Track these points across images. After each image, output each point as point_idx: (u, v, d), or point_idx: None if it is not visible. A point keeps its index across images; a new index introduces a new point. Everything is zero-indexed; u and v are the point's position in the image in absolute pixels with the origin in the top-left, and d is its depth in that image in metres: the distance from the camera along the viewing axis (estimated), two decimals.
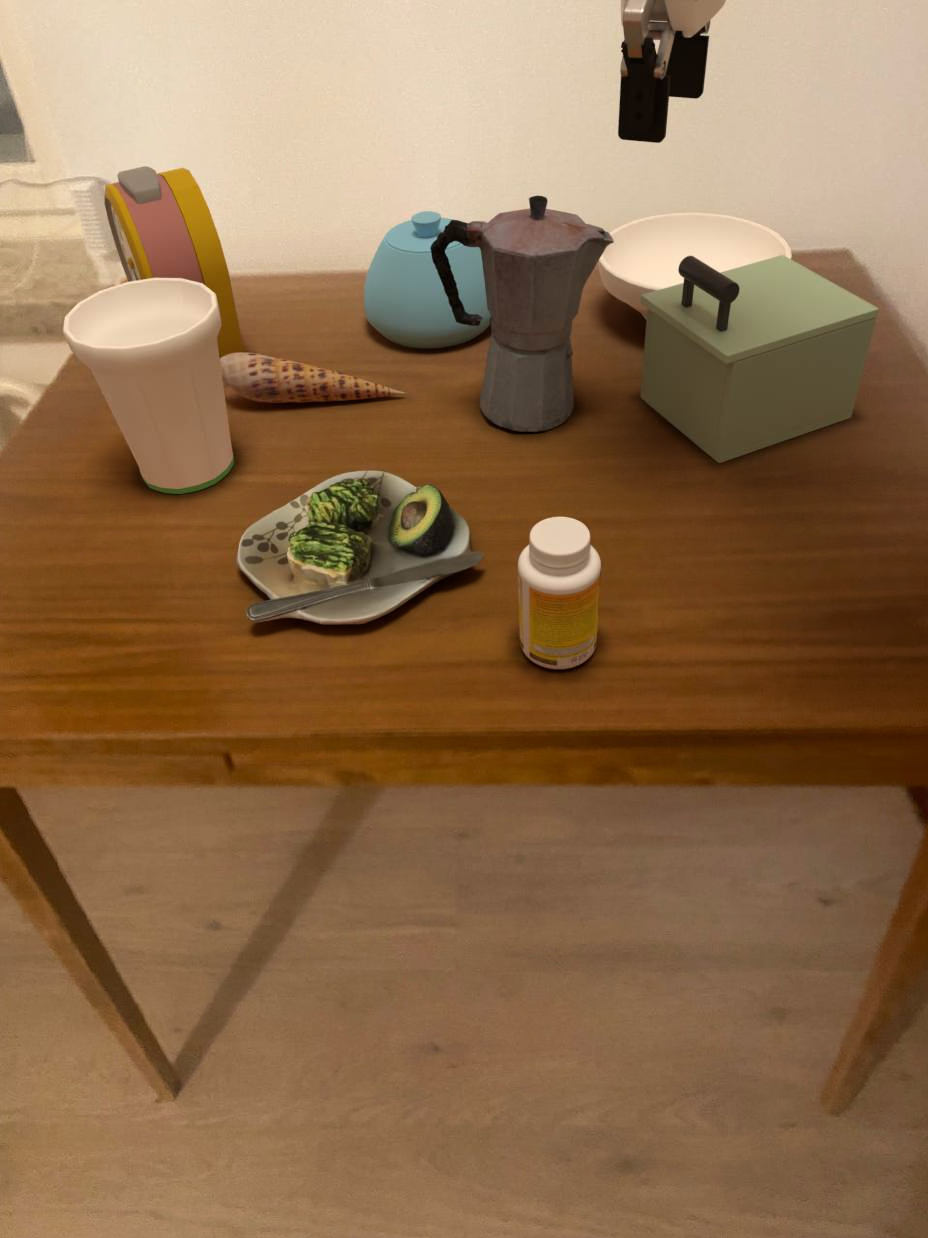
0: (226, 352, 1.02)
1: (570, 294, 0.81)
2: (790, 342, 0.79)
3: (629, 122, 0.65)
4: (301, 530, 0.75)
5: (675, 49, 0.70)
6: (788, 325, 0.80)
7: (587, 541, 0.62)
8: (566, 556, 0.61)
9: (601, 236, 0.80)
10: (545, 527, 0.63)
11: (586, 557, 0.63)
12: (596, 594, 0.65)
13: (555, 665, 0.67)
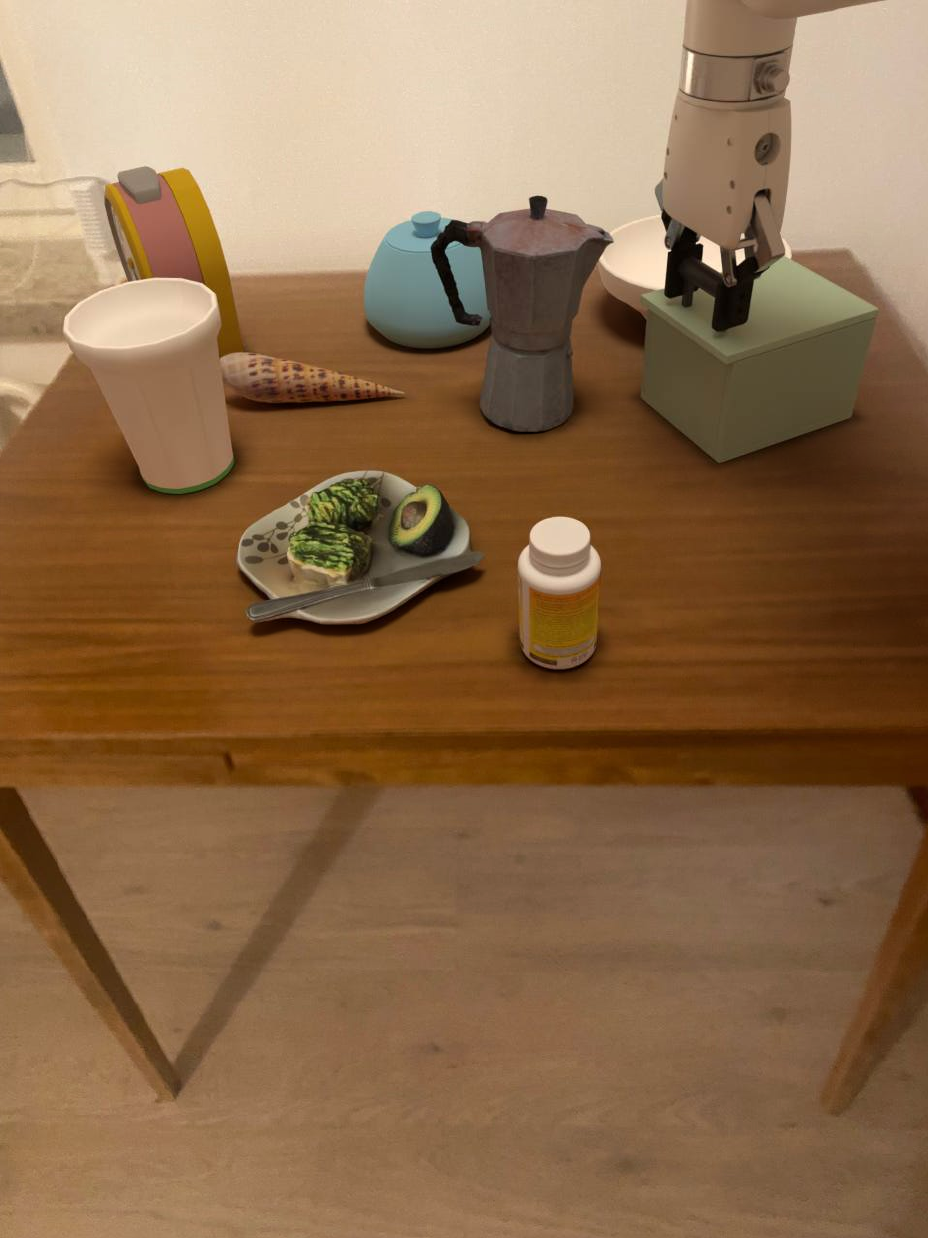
0: (226, 352, 1.02)
1: (570, 294, 0.81)
2: (790, 342, 0.79)
3: (732, 317, 0.77)
4: (301, 530, 0.75)
5: None
6: (788, 325, 0.80)
7: (587, 541, 0.62)
8: (566, 556, 0.61)
9: (601, 236, 0.80)
10: (545, 527, 0.63)
11: (586, 557, 0.63)
12: (596, 594, 0.65)
13: (555, 665, 0.67)
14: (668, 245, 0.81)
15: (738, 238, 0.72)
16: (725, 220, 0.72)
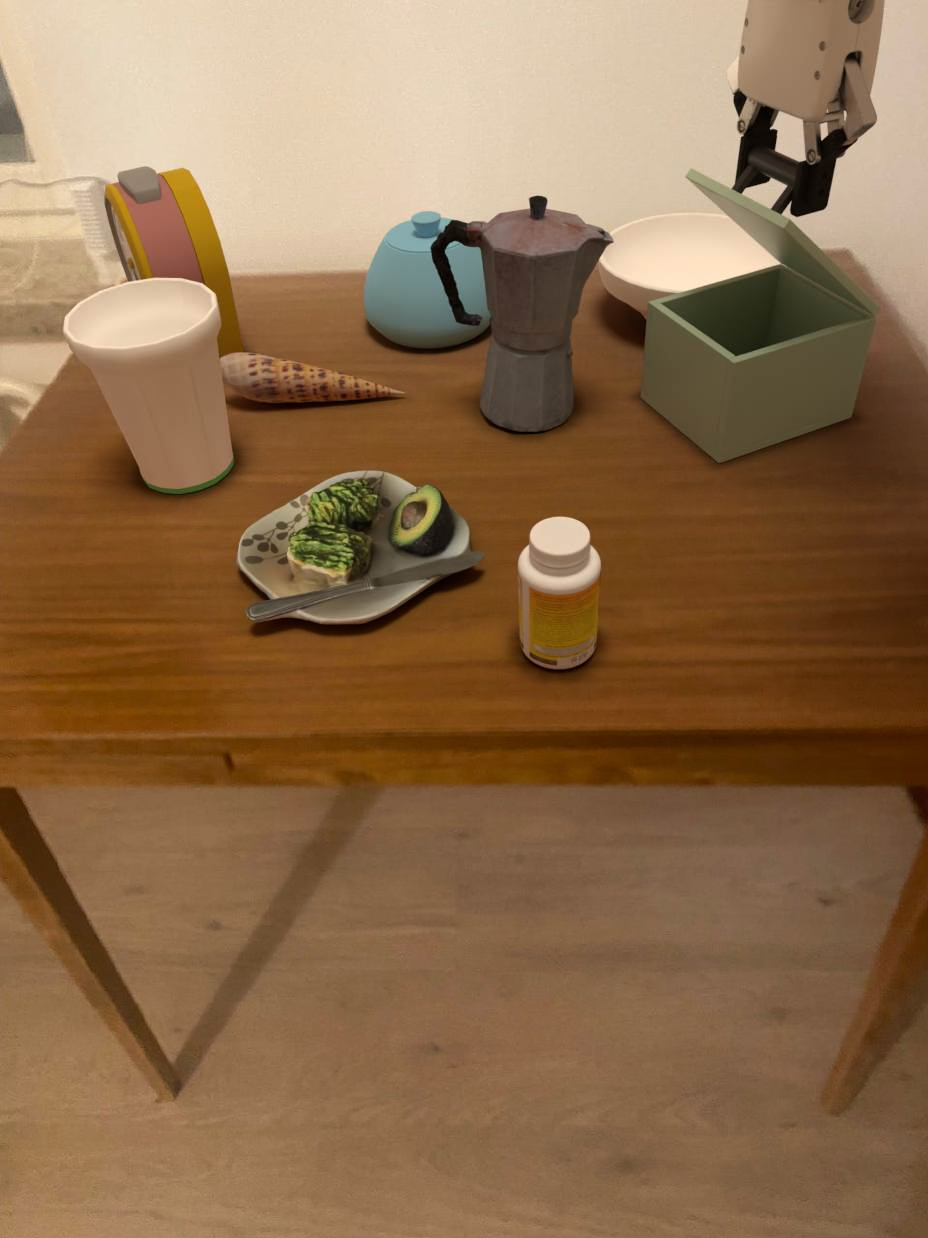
0: (226, 352, 1.02)
1: (570, 294, 0.81)
2: (825, 265, 0.75)
3: (813, 200, 0.73)
4: (301, 530, 0.75)
5: None
6: None
7: (587, 541, 0.62)
8: (566, 556, 0.61)
9: (601, 236, 0.80)
10: (545, 527, 0.63)
11: (586, 557, 0.63)
12: (596, 594, 0.65)
13: (555, 665, 0.67)
14: (741, 130, 0.77)
15: (825, 106, 0.68)
16: (812, 88, 0.68)
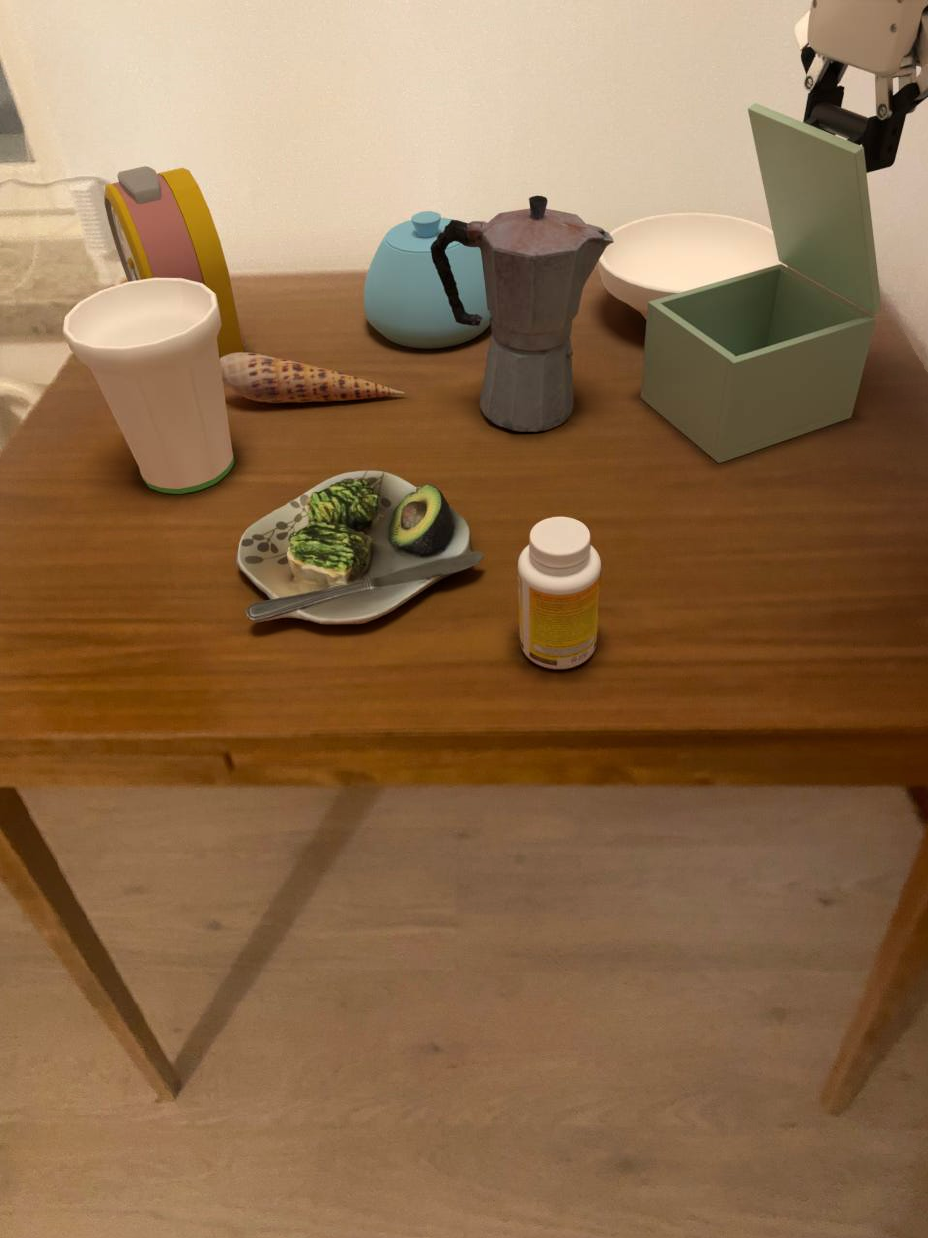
0: (226, 352, 1.02)
1: (570, 294, 0.81)
2: (865, 224, 0.75)
3: (881, 156, 0.74)
4: (301, 530, 0.75)
5: None
6: None
7: (587, 541, 0.62)
8: (566, 556, 0.61)
9: (601, 236, 0.80)
10: (545, 527, 0.63)
11: (586, 557, 0.63)
12: (596, 594, 0.65)
13: (555, 665, 0.67)
14: (808, 86, 0.77)
15: (900, 60, 0.68)
16: (887, 41, 0.68)
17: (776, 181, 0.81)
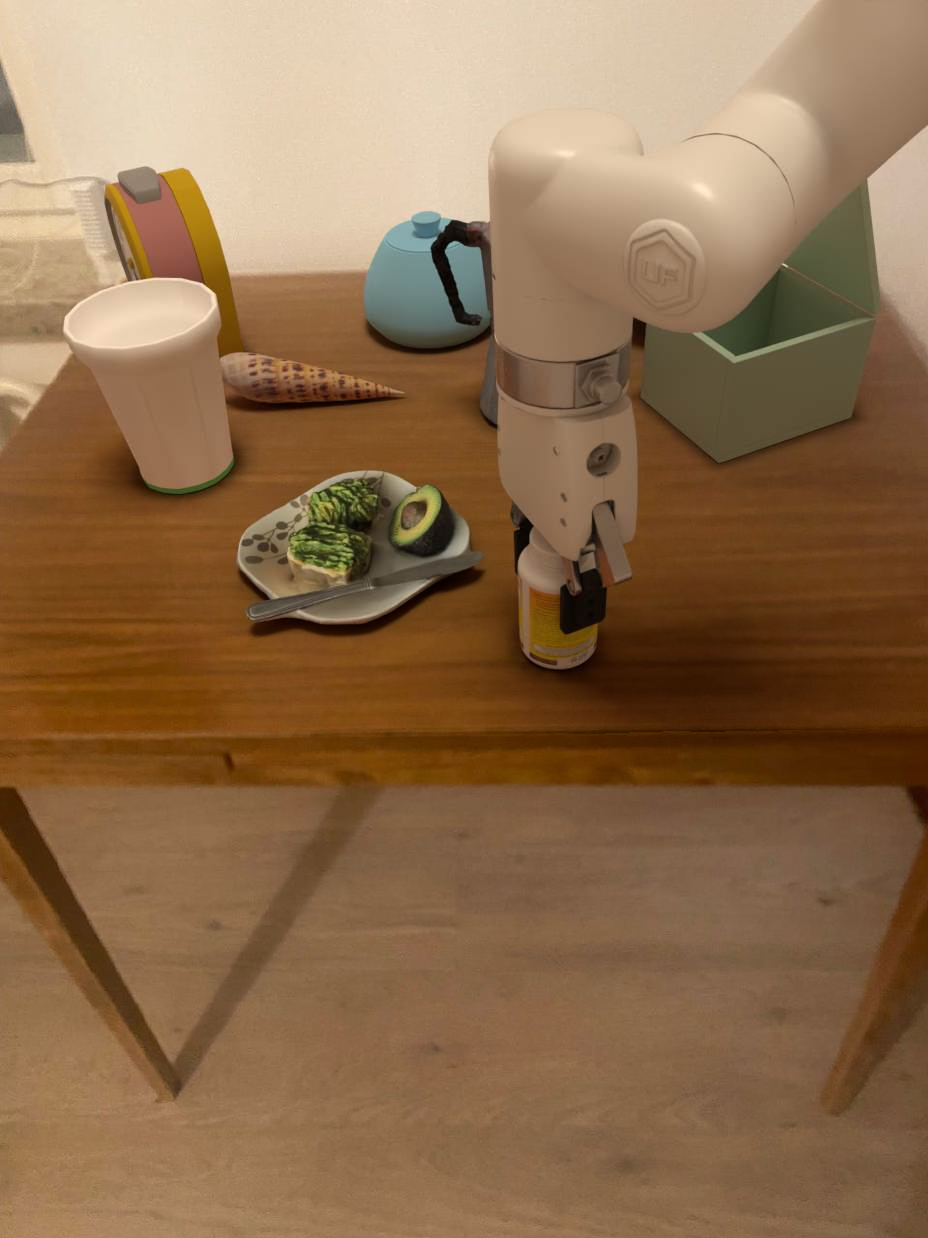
0: (226, 352, 1.02)
1: None
2: (865, 224, 0.75)
3: (582, 623, 0.63)
4: (301, 530, 0.75)
5: None
6: None
7: None
8: None
9: None
10: None
11: (586, 557, 0.63)
12: None
13: (555, 665, 0.67)
14: (515, 522, 0.66)
15: (577, 552, 0.57)
16: (560, 531, 0.57)
17: None
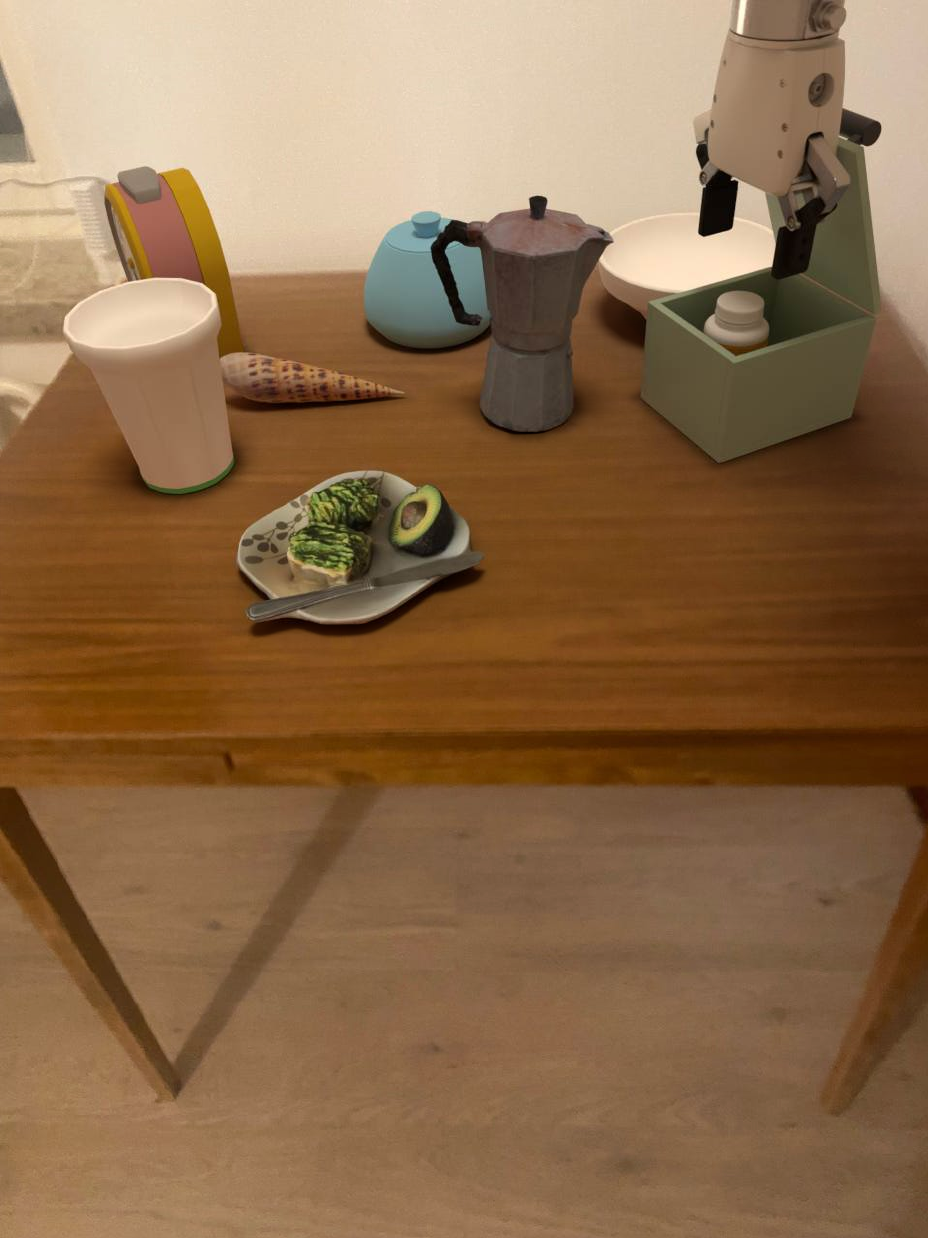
0: (226, 352, 1.02)
1: (570, 294, 0.81)
2: (865, 224, 0.75)
3: (793, 264, 0.74)
4: (301, 530, 0.75)
5: (717, 197, 0.80)
6: None
7: (763, 304, 0.82)
8: (748, 313, 0.81)
9: (601, 236, 0.80)
10: (728, 297, 0.83)
11: (761, 317, 0.83)
12: None
13: None
14: (702, 180, 0.80)
15: (789, 183, 0.71)
16: (775, 165, 0.71)
17: None
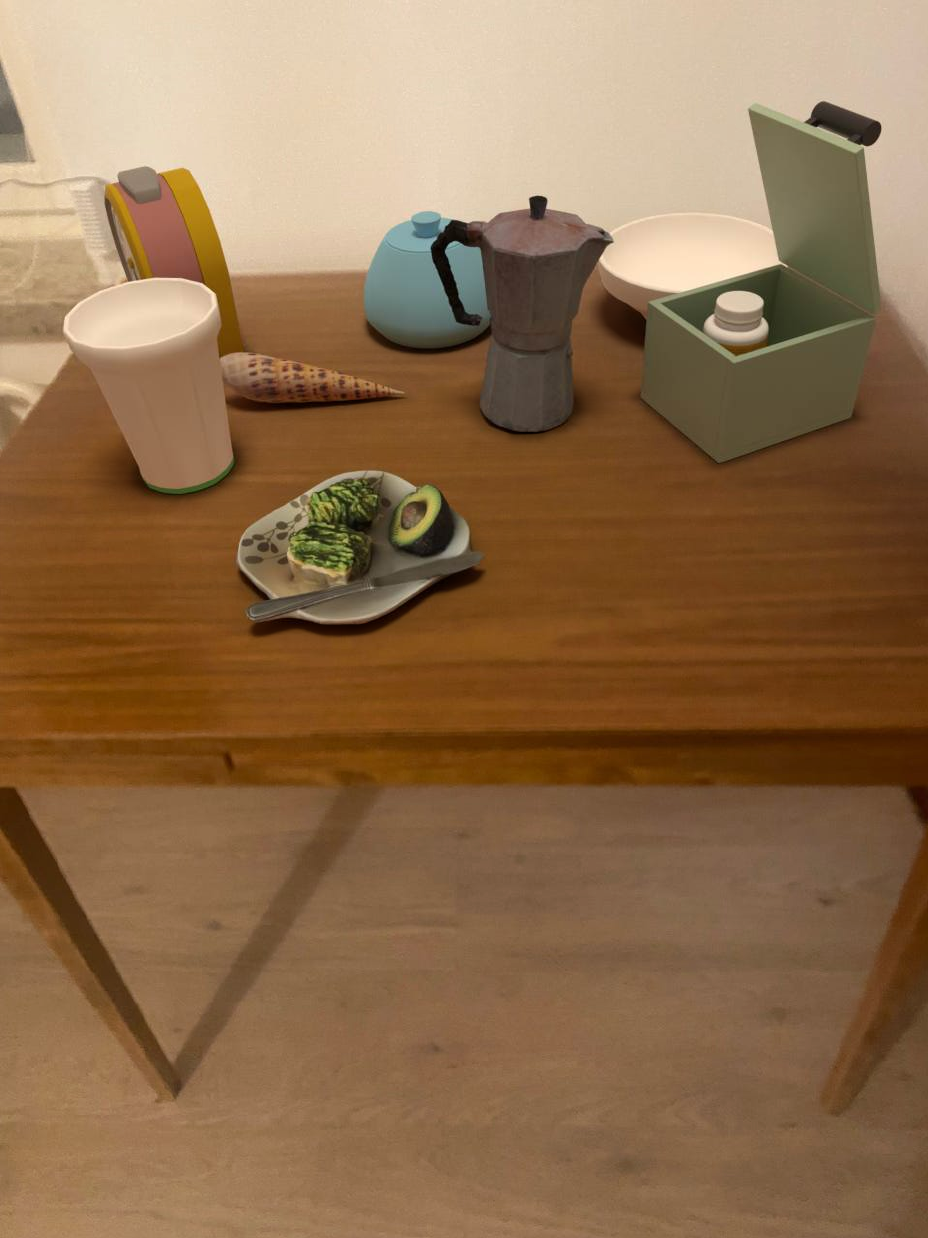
0: (226, 352, 1.02)
1: (570, 294, 0.81)
2: (865, 224, 0.75)
3: None
4: (301, 530, 0.75)
5: None
6: None
7: (762, 304, 0.82)
8: (747, 313, 0.81)
9: (601, 236, 0.80)
10: (727, 297, 0.83)
11: (760, 317, 0.83)
12: None
13: None
14: None
15: None
16: None
17: (776, 181, 0.81)
